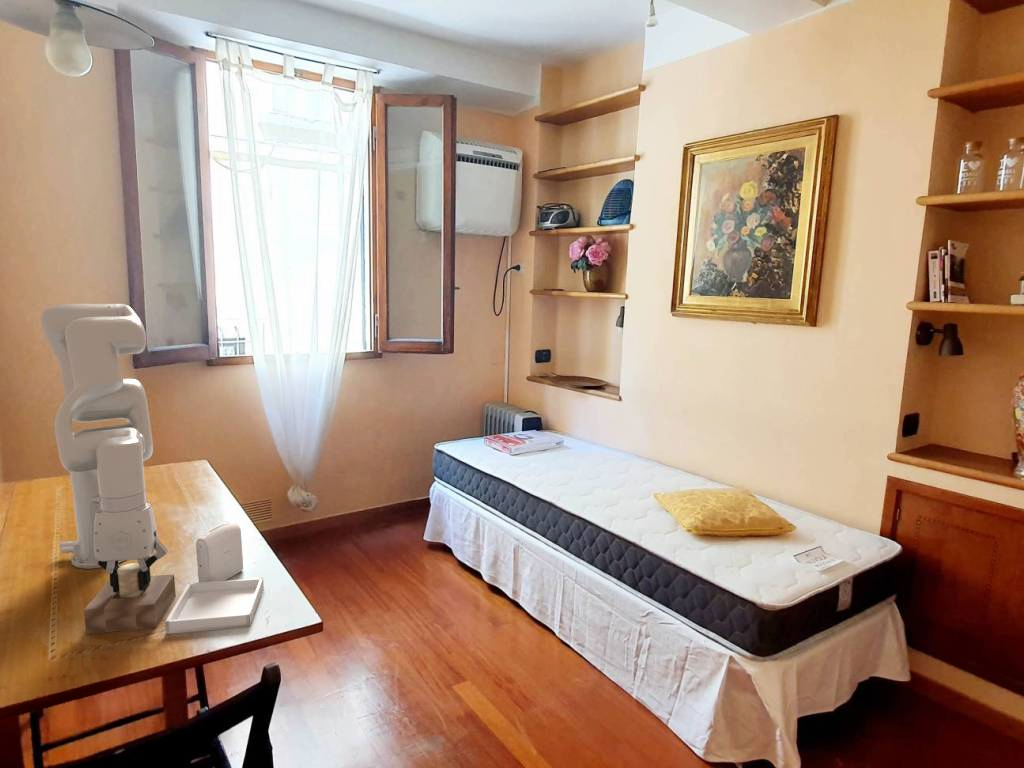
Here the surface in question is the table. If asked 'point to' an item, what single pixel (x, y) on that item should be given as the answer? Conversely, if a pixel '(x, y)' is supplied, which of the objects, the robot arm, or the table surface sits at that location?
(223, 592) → the tray
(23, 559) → the table surface
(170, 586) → the holder
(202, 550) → the photo printer
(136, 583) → the dowel
